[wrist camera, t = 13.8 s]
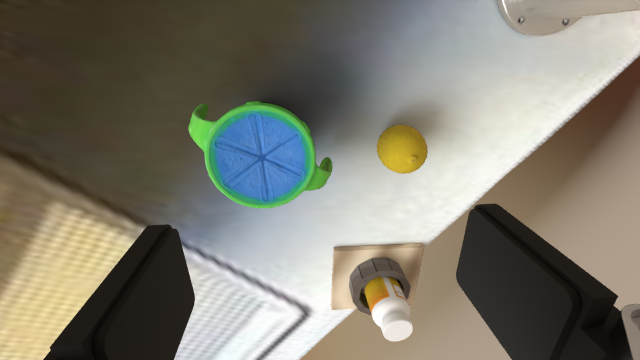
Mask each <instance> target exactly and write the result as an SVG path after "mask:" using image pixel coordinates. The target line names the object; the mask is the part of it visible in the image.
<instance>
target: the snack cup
mask: <svg viewBox="0 0 640 360" xmlns="http://www.w3.org/2000/svg"><path fill="white" fill-rule="evenodd" d="M207 110H208V106H207V104H201V105H199V106H198V107H197V108H196V109H195V110H194V112H193V114H192V118H191V122H190V124H189V133H190V135H191V137H192V138H193V140H194V141H195V142H196V144H197V145H199V146H200V147H201V148H202V150H203V151H204V153H205V162H206V167H207V171H208V173H209V176H210V178H211V179H212V181H213V182H214V184H215V185H216V187H217V188H218V189H219V190H220V191H221V192H222V193H223V194H225V195H226V196H227V197H229V198H230V199H232V200H233V201H235V202H237V203H239V204H242V205H245V206H248V207H254V208H273V207H277V206H281V205H283V204H286V203H288V202H290V201H291V200H293V199H295V198H296V197H297V196H298V195H300V194H301V193H302V192H303V191H309V190H316V189H320V188H321V187H323V186H324V185H325V184H326V182H327V179H328V178H329V176H330V175H331V172H332V162H331V159H330V158H328V157H327V158H325V159H324V160H323V161H322V162H321V165H320V167H318V166H317V165H316V154H315V146H314V143H313V140H312V137H311V135H310V129H309V128H308V126H307V125H306V124H305V123H304V122H303V121H301V120H300V119H299V118H298V117H297V116H295V115H294V114H293V113H291V112H290V111H288V110H286V109H285V108H283V107H280V106H277V105H274V104H269V103H261V102H259V101H253V102H247V103H246V104H245V105H241V106H238V107H236V108H234V109H232V110H230V111H229V112H227V113H226V114H225V115H223V116H222V117H221V118H220V119H219V120H217V121H208V120H204V119H205V116H206V114H207Z"/></svg>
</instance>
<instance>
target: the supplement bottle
mask: <svg viewBox="0 0 640 360" xmlns="http://www.w3.org/2000/svg"><path fill="white" fill-rule="evenodd" d="M363 289H364V292H365V295H366V298H367V301H368V304H369V308H370V311H371V314H372V317H373V319H374V321H375V323H376V324H377V325H378V326H380V327H381V329H382V332H383V335H384V337H385V338H386V339H388V340H390V341H401V340H403V339H405V338H407V337H408V336H409V335H410V334H411V333H412V330H413V326H412V323H411V321H410V318H409V316H410V308H409V305H408V302H407V300H406V298H405V296H404V294H403V292H402V290H401V287H400V285H399V283H398V281H397V279H396V278H393V277H391V276H382V277H376V278H374V279H372V280H370V281H368V282H367V283H366V284H365V285H364V286H363Z"/></svg>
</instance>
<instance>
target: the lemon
mask: <svg viewBox="0 0 640 360" xmlns="http://www.w3.org/2000/svg"><path fill="white" fill-rule="evenodd" d="M377 153H378V156H379V159H380V160H381V162H382V163H383V164H384V165H385V166H386V167H387V168H388V169H390V170H392V171H394V172H397V173H402V174H404V173H411V172H414V171H415V170H417V169H419V168H420V167H421V166H422V165H423V163H424V162H425V160H426V157H427V145H426V142H425V139H424V138H423V136H422V135H421V134H420V133H419V132H418V131H417V130H415V129H414V128H412V127H409V126H406V125H396V126H392V127H390V128H388V129H387V130H385V131H384V132H383V133H382V134H381V136H380V138H379V140H378V143H377Z"/></svg>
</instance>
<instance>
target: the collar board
mask: <svg viewBox="0 0 640 360" xmlns="http://www.w3.org/2000/svg"><path fill="white" fill-rule="evenodd" d="M423 250H424V246H423V245H422V243H419V244H397V245H374V246H352V247H334V253H333V275H332V298H331V307H332V310H341V309H356V308H358V310H360V311H361V312H364V313H366V314H369V315H372V314H371V311H370V308H369V304H368V301H367V298H366V295H365V292H364V289H363V286H364V285H365V284H366V283H367V282H368V281H370V280H372V279H374V278H376V277H382V276H391V277H393V278H396V279H397V281H398V283H399V285H400V287H401V290H402V292H403V294H404V296H405V298H406V300H407V302H408V305H413V301H414V296H415V291H416V286H417V280H418V276H419V270H420V266H421V261H422V255H423Z"/></svg>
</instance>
